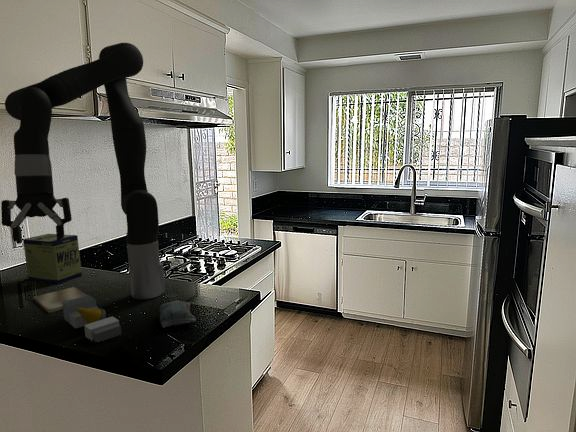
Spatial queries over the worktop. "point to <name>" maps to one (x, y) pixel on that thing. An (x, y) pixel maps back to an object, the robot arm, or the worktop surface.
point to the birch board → (57, 298)
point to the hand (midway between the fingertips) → (39, 241)
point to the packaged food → (175, 313)
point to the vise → (93, 330)
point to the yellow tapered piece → (92, 314)
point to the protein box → (52, 258)
